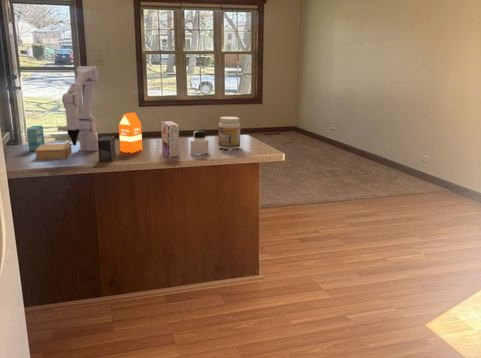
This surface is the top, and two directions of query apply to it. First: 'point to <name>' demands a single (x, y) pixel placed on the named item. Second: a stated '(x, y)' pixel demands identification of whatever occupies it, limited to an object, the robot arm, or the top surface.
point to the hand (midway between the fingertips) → (74, 145)
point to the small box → (106, 149)
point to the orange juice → (130, 133)
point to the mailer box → (53, 154)
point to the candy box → (170, 138)
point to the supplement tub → (229, 133)
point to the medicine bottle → (199, 143)
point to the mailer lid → (54, 147)
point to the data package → (35, 137)
